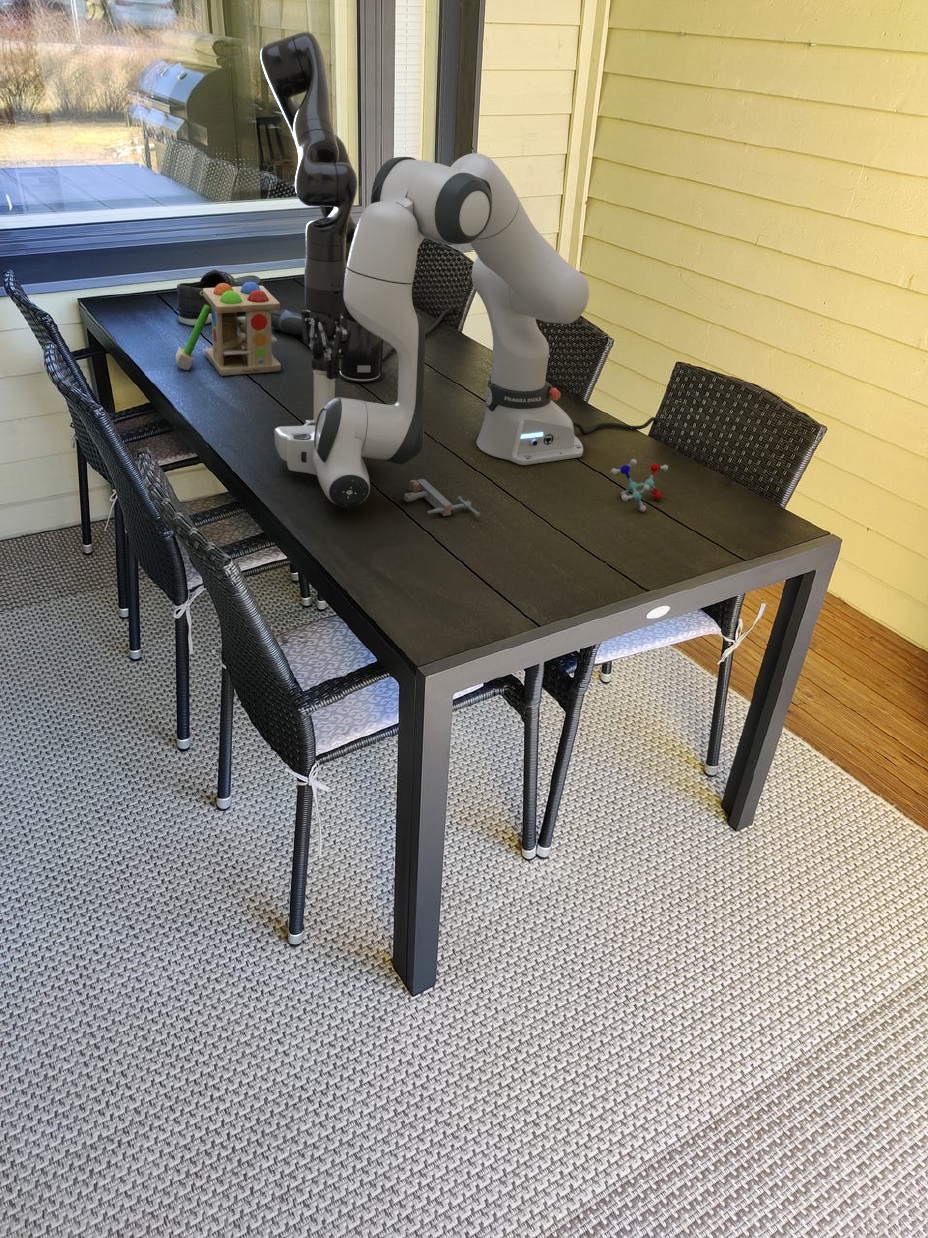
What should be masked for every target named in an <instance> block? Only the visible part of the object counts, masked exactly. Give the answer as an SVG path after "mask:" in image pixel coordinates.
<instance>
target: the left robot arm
mask: <svg viewBox="0 0 928 1238" xmlns="http://www.w3.org/2000/svg"><path fill="white" fill-rule="evenodd" d="M260 62H261V65H262V69H263V72H264V75H265V78H266V80H267V82H268V84H269V87H270V89H271V91H272V93H273V96H274V97H275V100H276V102H277V104H278V106H279V108H280V110H281V113H282V115H283V117H284V119H285V122H286V123H287V127H288V128H289V130H290V133H291V135H292V138H293V141H294V143H295V146H296V150H297V156H298V160H297V161H298V163H297V169H296V172H295V179H294V190H295V194H296V196H297V199H298V200H299V201H300V202H301V203H302V204H303V205H305V206H308V207H315V208H317V207H318V208H319V209H320V212H321V215H322V217H321V218H316V219H313V220H310V221H309V222H308V223H307V224H306V226H305V262H304V307H305V309H306V310H301V311H300V315H301V317H302V324H303V332H304V340H305V343H306V344H307V343H309V347H310V348H309V347H308V348H309V349H310V350H311V358H312V357H313V355H315V354H320V353H326V354H327V378H328V379H330V380H331V379H335V380H336V379H338V378H339V376H340V377H341V378H342V380H345V381H348V382H352V383H359V384H360V383H361V384H364V383H365V384H366V383H367V384H369V383H373V382H376V381H378V380H380V378H381V375H382V374H383V362H384V361H385V360H387V358H388V356H390V354H392V353H393V352H395V351H396V350H395V348H394V347H393V346H392V347H391V348H390V349H388V350H387V351H386V352H385V353H384V340H383V339H381V338H380V337H378V336H377V335H375V334H373V333H372V332H370V331H369V330H367V329H366V328H364V327H363V326H362V325H360V324H359V323H358V322H357V321H356V320H355V319H354V318H353V317H352V316H351V314H350V313H349V311H348V309H347V307H346V305H345V302H344V279H345V272H346V267H347V261H348V256H349V252H350V248H351V244H352V240H353V237H354V233H355V230H356V227H357V224H356V223H355V221H354V219H353V217H352V210H353V206H354V203H355V201H356V197H357V193H358V185H359V184H358V176H357V173H356V171H355V169H354V167H353V165H352V162H351V160H350V156H349V153H348V151H347V148H346V146H345V143H344V142H343V141H342V140H341V138H340V137H339V136H338V135H337V134H336V133H335V130H334V126H333V121H332V115H331V100H330V99H331V97H330V86H329V75H328V69H327V65H326V60H325V57H324V54H323V51H322V48H321V46H320V43H319V41H318V40H317V38H316V37H315V35H314V34H313V33H312V32H309V31H303V32H298V33H295V34H293V35H289V36H286V37H284V38H281V39H278V40H274V41H272V42H269V43H267V44H265V45H263V47H262V48H261V50H260ZM302 94H305V95H304V97H303V98H302V100H301V103H300V102H299V100H297V98H296V97H295V96H299V95H302ZM453 307H454V306H450V307H448V308H447V309H446V310H445V311H443V312H442V313H441V314H440V316H439V317H438V318H437V320H436V321H435V323H434V324H432V326H430V327H429V328H428V329H427V330H425V337H426V336H428V335H429V334H431V333H432V332H433V331H434V330H435V329H436V328H437V327H438V326H439V324H440V323H441V322H442V320H443V318H444V317H445V316H446V315H447V314H449V313H450V312H451V311H453V312H458V309H457V307H456V308H455V309H453ZM309 330H310V333H309ZM334 339H335V341H333V342H330V343H329V342H328V340H334ZM305 343H304V344H305ZM306 344H305V345H306ZM332 347H333V348H332ZM324 349H325V352H324ZM383 353H384V354H383ZM311 369H313V371H314V370H315V369H314V368H313V367H312V366H311Z"/></svg>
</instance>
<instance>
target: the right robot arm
mask: <svg viewBox="0 0 928 1238" xmlns="http://www.w3.org/2000/svg"><path fill="white" fill-rule="evenodd" d="M375 175H376V176H375V177H374V181H373V183H372V184H373V185H372V188H371V195H370V204H368V205H367V206H366V207H365V208H364V209H363V211H362V212H361V214H360V217H359V219H358V221H357V222H358V223H357V224H356V225H357V227H356V230H355V233H354V237H353V240H352V244H351V248H350V252H349V256H348V261H347V267H346V272H345V279H344V302H345V305H346V307H347V309H348V311H349V313H350V314H351V316H352V317H353V318H354V319H355V320H356V321H357V322H358V323H359V324H360V325H362V326H363V327H364V328H366V329H367V330H369V331H370V332H372V333H373V334H375V335H377V336H378V337H380V338H381V339H383V341H384V342H386V343H388V345H390V346H392V348H393V347H394V348H395V351H396V355H397V358H398V375H397V376H398V377H397V379H398V381H397V400H396V401H395V403H393V404H386V403H381V402H380V403H379V402H373V401H365V400H362V399H355V398H348V397H339V396H335V398H334V399H333V400H331V401H330V402H329V403H328V404H327V405H326V406H325V407H324V408H323V409H322V410H321V411H320V413H319V415H318V418H317V422H316V425H314V421H313V419H306V420H305V423H304V424H303V425H285V426H283V425H281V426H277V427H275V428H274V434H273V435H274V437H273V438H274V445H275V449H276V451H277V454H278V455H279V457H280V458H281V459H282V460H283V461H284V462H286V466H287V469H288V470H289V471H292V472H297V473H304V474H305V473H306V474H310V475H314V476H317V480H318V483H319V485H320V487H321V490H322V492H323V493H324V495H325V497H326V498H327V499H328V500H329V501H330V502H331V503H333V504H335V505H336V506H339V507H344V508H351V507H355V506H358V505H360V504H362V503H363V502H364V501H365V500H367V498H368V497H369V495H370V492H371V480H370V476H369V472H368V469H367V466H366V463H365V461H364V459H363V458H368V459H376V460H382V461H385V462H390V463H393V464H398V465H404V464H406V463H408V462H409V461H411V460H413V459H415V457H417V456H418V455H419V454H420V453H421V451H422V448H423V445H424V440H425V439H424V437H425V432H424V431H425V430H424V429H425V428H424V390H425V389H424V388H425V387H424V386H425V367H426V363H425V362H426V336H425V332H426V330H425V324H424V320H423V318H422V316H420V315H419V314H418V313H417V312H416V311H415V308H414V302H413V285H414V279H415V274H416V266H417V260H418V259H417V258H418V250H419V248H420V245H421V244H422V242H423V241H424V240H425V238H426V237H429V238H433V239H439V240H443V241H445V242H447V243H450V244H458V245H463V244H470V246H471V247H472V249H473V251H474V252H475V255H476V258H475V260H474V262H473V264H472V267H471V268H472V269H471V283H472V286H473V288H474V290H475V292H476V293H477V294H478V296H479V297H480V299H481V301H482V302H483V305H484V307H485V310H486V313H487V316H488V320H489V323H490V328H491V334H492V359H491V370H490V371H491V372H490V376H489V377H488V381H487V387H486V391H485V406H486V409H485V413H484V418H483V421H482V425H481V428H480V431H479V434H478V436H477V438H476V441H475V444H476V446H477V447H478V448H479V450H480V451H482V452H483V453H485V454H487V455H489V456H492V457H494V458H499V459H503V460H507V461H510V462H513V463H515V464H517V465H519V466H520V465H521V466H528V465H536V464H542V463H548V462H555V461H562V460H563V461H564V460H569V459H576V458H582V456H583V455H584V446H583V444H582V442H581V440H580V439H579V438H578V437H577V436H576V435H575V429H576V428H578V430H579V432H580V433H581V434H583V435H589V434H591V433H593V432H595V431H597V430H598V429H600V428H605V427H606V428H607V427H609V428H618V429H624V430H632V431H633V430H634V431H638V430H639V431H640V430H644V429H645V428H648V426H650V425H651V424H652V423H653V422H654V423H656V424H658V423H659V420H658V419H657V417H655V416H652V417H650V418H649V419H648V420H647V421H646V422H645V423H643V424H641V425H630V424H629V425H628V424H622V423H617V422H600V423H598V424H595V425H594V426H592V427H591V428H589V429H584V427H583V425H582V424H581V423H579V422H575V421H573V420H572V419H571V417H570V416H569V414H568V413H567V412H566V411H565V410H564V409H562V408H561V407H560V406H559V405H558V404H557V403H555V402H554V401H558V400H559V399H560V398H561V397H562V396H561V394H562V393H561V391H559V389H558V388H556V387H554V386H553V385H552V384H551V383H549V382H548V381H547V379H546V378H547V371H548V363H549V356H550V345H549V342H548V341H547V338H546V337H545V336H544V334H543V333H542V331H541V330H540V329H539V326H538V324H537V320H539V321H542V322H543V323H548V324H549V323H550V324H559V325H569V324H572V323H574V322H575V321H577V320H578V319H579V318H580V317H582V315H583V314H584V311H585V310H586V308H587V305H588V303H589V299H590V285H589V282H588V278H587V277H586V275H584V273H582V272H580V271H579V270H577V269H576V268H575V267H573V265H571V264H570V263H569V262H568V261H567V260H566V259H564V258H563V257H562V256H561V254H560V253H559V252H558V251H556V249H555V248H554V247H553V246H552V245H551V244H550V243H549V242H548V240H547V239H546V238H545V237H544V236H543V235H542V234H541V233H540V232H539V231H538V229H537V227H535V226H534V224H533V223H532V221H531V219H530V218H529V215H528V213H527V212H526V210H525V208H524V206H523V204H522V202H521V200H520V198H519V196H518V195H517V193H516V191H515V189H514V187H513V186H512V184H511V182H510V181H509V179H508V178H507V177H506V175H505V174H504V172H503V171H502V170H501V169H500V168H499V166H498V165H497V164H496V163H495V162H494V160H493V159H492V158H490V156H487V155H485V154H483V153H479V152H475V153H474V152H472V153H467V154H465V155H463V156H461V157H459V158H458V159H456V160H455V161H454V162H453V164H451V166H448V165H445V164H442V163H439V162H433V161H429V160H428V161H427V160H422V159H416V158H415V157H411V156H396V157H395V156H394V157H392V158H390V159H388V160H386V161H385V162H384V163H383V164H382V165H381V167H380V168H379V169H378V172H377V173H376V174H375ZM425 236H426V237H425ZM655 419H657V420H655ZM631 428H632V429H631Z"/></svg>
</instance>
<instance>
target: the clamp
mask: <svg viewBox="0 0 928 1238" xmlns="http://www.w3.org/2000/svg"><path fill="white" fill-rule="evenodd" d="M408 482H409V484H408V491H409V492H406V493H404V494H403V499H404V501H406V502H413V501H416V500H417V499H422V498H423V499H425V500H426V501H427V502H428V503H429V504H430V505H431V506H432V507H433V509H430V510H427V511H426V513H427V514H428V515H429V514H439V513H440V514H441V515H442V517H447V516H452V511H454V510H459V509H463V510H466V509H469V510H470V511H471V512H472V513H473V514H475V517H476V518H480V516H481V512H479V511H477V510H475V509H474V508H473V507H472V502H471V501H470V500H466V501H465V500H464V499H463V497H462V496H457V498H456V500H457V502H460V503H458V504H452V503H451V501H449V500H448V499H447V498H446V497H445V496H444V495H443V494H441V493H440V491H438V490H437V489H436V488H435V487H434V486H433V485H431V484H430V483H429V481H427V480H426V479H425V478H419V479H417V480H416V479H412V480H409V481H408Z"/></svg>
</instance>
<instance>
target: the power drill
mask: <svg viewBox="0 0 928 1238" xmlns="http://www.w3.org/2000/svg"><path fill="white" fill-rule="evenodd" d="M271 328H274V329H276V330H278V331H281V332H284V333H288V334H290V335H296V336H300V337H302V341H303V343H304V344H305V346H306V347H308V348H309V349H310V347H309V343H307V344H306V343H305V340H304V332H303V324H302V317H301V313H297V312H293V311H291V310H288V309H283V308H280V310H271ZM309 333H310V330H309ZM334 341H335V339H334V340H328V342H329V343H330V342H334Z"/></svg>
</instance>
